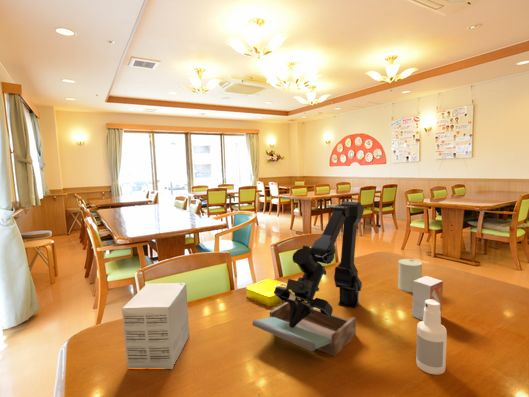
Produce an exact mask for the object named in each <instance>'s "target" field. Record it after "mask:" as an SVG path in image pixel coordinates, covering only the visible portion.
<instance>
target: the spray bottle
mask: <svg viewBox="0 0 529 397" xmlns="http://www.w3.org/2000/svg"><path fill="white" fill-rule="evenodd" d="M441 318H442V315H441V311H440V304H439V303H438V302H436V301H435V300H433V299H427V300H425V308H424V316H423V320H421V321H419V322H418V323H417V324H416V325H417V326H416V356H415V358H416V359H415V362H416V366H417V368H419V369H420V370H421V371H423V372H424V373H427V374H430V375H435V376H436V375H442V374H444V373H445V371H446V366H447V365H446V364H447V363H446V362H447V335H448V334H447V333H448V332H447V328H446V327H445V326H444V325H443V324H441V323H442V319H441Z"/></svg>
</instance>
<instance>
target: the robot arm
mask: <svg viewBox="0 0 529 397" xmlns="http://www.w3.org/2000/svg"><path fill="white" fill-rule="evenodd" d="M364 211H365V208H364V205H362V203H361V202H359V201H348V200H347V201H343V202H342V203H339V204H336V205H335V206H333V207H332V212H331V215H330V217H329V220H328V222H327V224H326V226H325V228H324V230H323V232H322V234H321V235H320V237H319V238H317V239H316V240H314V242H313V244H312V245H311V247H310V246H309V245H305V244H304V245H302V248H298V249H297V250H296V251H295V252H294V253H293V254H292V262H293V263H294V264H295V265H296V266H297V268H298V269H299V270H300V271H301V272H302V273H303V275H302V276H301V277H300V276H299V277H298V278H297V280H295V279H293V278H292V279H291V278H288V279H287V282H286V283H287V287H286V288H283V287H280V286H278V287H276V288H275V290H274V292H273V293H274V294H275V295H276V296H277V297H278V298H279V299H280V300H282V302H284V303H285V302H288V303H289V304H290V322H289V326H290V327H291V328H294V327H295V326H296V325H297V324H298V323H299V322H300V321H301V320H302V319H303V318H305V317H306V316H307V315H309V314H310V313H311V314H313V308H314V309H317V310H320V311H321V314H323V315H326V316H329V317H331V314H333V310H334V309H333V306H332V305H331V304H330V303H329V302H328V301H327V300H326V299H322V298H319V297H315V295H316V293H317V292H320V291H319V290H320V288H319V285H320V283H321V281H322V277H323V276H326V275H327V270H326V266H325V264H326V265H328V264H331V263H332V262H333V261H334V258H335V255H336V246H335V243H336V242H337V239H338V236H339V234H340V233H341V229H342V241H341V255H340V262H339V264H338V265H337V266H335V268H334V276H333V280H334V284H335V287H336V288H339V301H338V303H337V304H338V306H344V307H349V308H356V307H357V305H358V304H359V301H360V292H361V291H362V287H363V286H362V285H363V283H362V281H361V280H360V278H359V276H358V275H359V274H358V273H359V272H358V269H357V267H356V265H355V256H356V255H355V254H356V253H355V252H356V243H357V242H356V238H357V230H358V229H357V228H358V225H359V223H360V222H361V221H362V219H363V215H364ZM322 264H324V265H322ZM289 289H290V290H292V292H293V294H292V293H291V292H290V291H289Z"/></svg>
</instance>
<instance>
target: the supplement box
mask: <svg viewBox="0 0 529 397" xmlns="http://www.w3.org/2000/svg"><path fill="white" fill-rule="evenodd" d="M187 291H188V290H187V283H186V282H169V283H168V282H162V283H161V282H160V283H159V282H157V283H146V284H145V285H144V286H143V287H142V288H141V289H140V290H139V291H138V292H136V294H135V295H134V296H133V297H132V298H131V299H130V300H129V301H128V302H127V303H126V304H125V305H123V307H121V312H122V324H123V335H124V346H125V354H126V355H125V356H126V364H127V365H126V366H127V369H128V368H165V369H172V370H173V369H174V366H175V365H174V364H176V363H177V361H178V358H179V356H180V355H181V353H182V351H183V349H184V346H185V345H186V343H187V341H188V339H189V337H190V326H189V324H190V323H189V310H188V307H189V305H188V294H187V293H188V292H187ZM176 360H177V361H176ZM175 362H176V363H175Z"/></svg>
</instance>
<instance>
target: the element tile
mask: <svg viewBox="0 0 529 397" xmlns="http://www.w3.org/2000/svg"><path fill="white" fill-rule="evenodd" d="M278 286H280V287H283V288H286V287H287V282H283V281H280V280H277V279H275V278H270V277H268V278H264V279H262V280H260V281H257V282H255V283H253V284H250V285H247V286H246V289H245V291H246V298H247V297H248V298H247V299H249V298H250V300H252V299H253V300H252V301H254V300H255V301H254V302H257V303H259V302H260V304H262V305H264V304H265V305H264V306H267V305H268V306H267V307H274V306H276V305H277V303H278V304H279V302H280V303H281V301H282V300H280V299H279V298H278V297H277V296H276V295H275V294H274V293H273V292H274V290H275V288H276V287H278ZM289 291H290V292H291V293H292V294H294V293H293V292H292V290H290V289H289ZM282 302H283V301H282ZM275 304H276V305H275ZM273 305H274V306H273Z"/></svg>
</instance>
